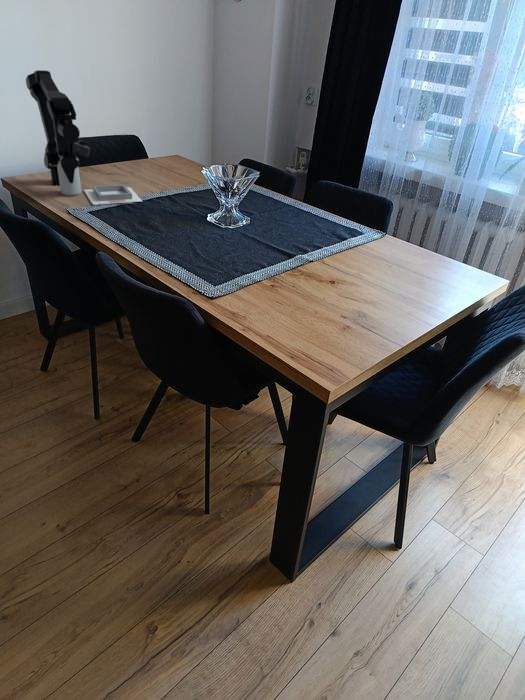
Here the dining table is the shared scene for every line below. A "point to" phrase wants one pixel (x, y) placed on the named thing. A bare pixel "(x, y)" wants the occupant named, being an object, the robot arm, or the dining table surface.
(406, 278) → the dining table surface
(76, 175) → the can
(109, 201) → the collar plate
